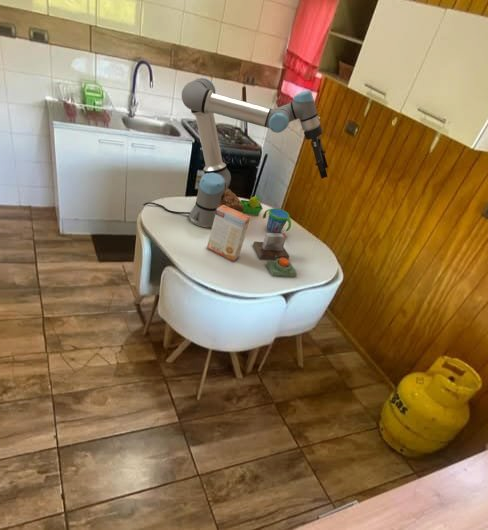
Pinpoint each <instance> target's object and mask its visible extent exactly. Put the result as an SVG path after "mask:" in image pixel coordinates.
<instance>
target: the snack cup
mask: <svg viewBox="0 0 488 530" xmlns="http://www.w3.org/2000/svg"><path fill="white" fill-rule="evenodd" d="M267 213H268V218H267ZM266 218H267V224H266V230H267V231H268V232H269V233H276V234H281V232H282V231H283V229H284V227H285V225H286V223H288V226H287V228H286V230H285V232H288V231H289V230H290V229H291V226H292V221H291V218H290V213H289V212H287V211H286V210H284V209H281V208H275V207H273V208H269V209H267V210H265V211H264V213H263V215H262V219H266Z"/></svg>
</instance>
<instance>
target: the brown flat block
mask: <svg viewBox="0 0 488 530" xmlns="http://www.w3.org/2000/svg"><path fill="white" fill-rule="evenodd" d="M263 242H264V241H255V240H254V241H253V243H252V248H253V249H254V251H255V253H256V254H257V257H258V258H259V260H266V261H275V260H276V259H280V258H286V259H288V260H290V254H289V253H288V252H287V249H286V248H285V247H284V246H283V248H282V251H274V250H264V249H263V247H262V245H263Z"/></svg>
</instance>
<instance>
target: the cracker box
mask: <svg viewBox="0 0 488 530" xmlns="http://www.w3.org/2000/svg"><path fill="white" fill-rule="evenodd" d="M251 218H252V216H250V215H249V214H243V213H241V212H239V211H237V210H234V209H232V208H230V207H228V206H226V205H222V206H220V207H218V208H217V210H216V214H215V218H214V222H213V226H212V228H211V229H210V234H209V238H208V242H207V246H206V248H207V249H208V250H210V251H212V252H214V253H215V254H218V255H219V256H222V257H224V258H225V259H228V260H229V261H231V262H234V261H235V260H236V259H238V258H239V257H240V254H241V251H242V247H243V244H244V241H245V238H246V234H247V231H248V228H249V225H250V222H251Z"/></svg>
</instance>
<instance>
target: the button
mask: <svg viewBox="0 0 488 530" xmlns="http://www.w3.org/2000/svg"><path fill="white" fill-rule="evenodd" d="M289 262H290V259H286V258H280V259H279V262H278V264H279V265H281V266H283V267H288V265H289ZM290 263H291V262H290Z"/></svg>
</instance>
